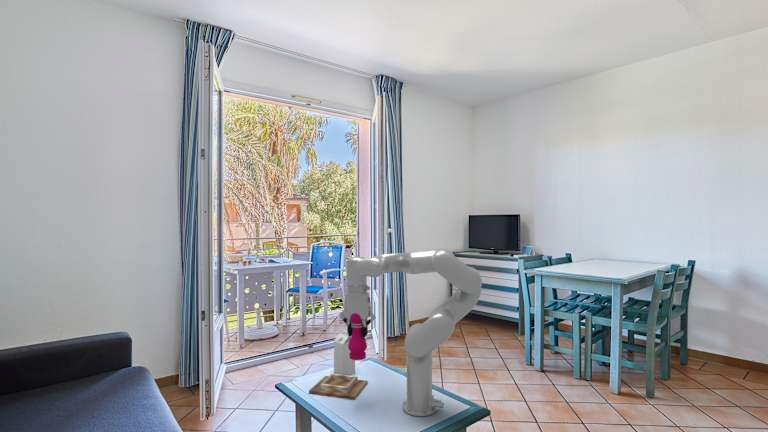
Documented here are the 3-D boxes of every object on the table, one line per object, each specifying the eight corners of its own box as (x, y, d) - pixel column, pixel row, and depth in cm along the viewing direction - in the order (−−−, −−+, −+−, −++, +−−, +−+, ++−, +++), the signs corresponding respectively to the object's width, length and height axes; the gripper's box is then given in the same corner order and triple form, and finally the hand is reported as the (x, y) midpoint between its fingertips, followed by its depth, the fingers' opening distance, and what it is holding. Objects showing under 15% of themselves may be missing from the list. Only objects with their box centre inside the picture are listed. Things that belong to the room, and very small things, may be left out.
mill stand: (367, 383, 170) (367, 375, 170) (354, 399, 155) (354, 391, 155) (325, 378, 176) (325, 370, 176) (308, 393, 161) (308, 385, 161)
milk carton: (346, 369, 187) (346, 329, 187) (355, 373, 182) (355, 332, 182) (333, 373, 182) (333, 332, 182) (343, 377, 177) (343, 335, 177)
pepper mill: (364, 361, 148) (363, 308, 148) (345, 360, 149) (345, 307, 149) (369, 354, 155) (368, 304, 155) (351, 353, 156) (350, 303, 156)
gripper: (380, 288, 153) (381, 334, 153) (340, 286, 158) (340, 331, 158) (375, 291, 146) (375, 340, 146) (332, 289, 151) (333, 337, 151)
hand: (357, 335), depth 152 cm, fingers closed on pepper mill, 5 cm apart
